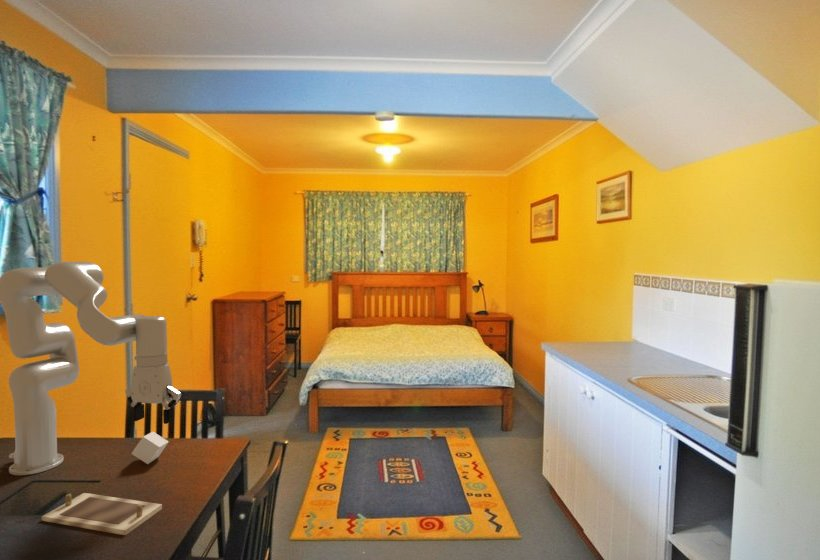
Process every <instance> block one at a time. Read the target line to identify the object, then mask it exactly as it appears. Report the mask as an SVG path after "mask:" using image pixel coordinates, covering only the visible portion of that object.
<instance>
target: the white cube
mask: <svg viewBox="0 0 820 560" xmlns="http://www.w3.org/2000/svg"><path fill="white" fill-rule="evenodd" d="M168 443H169V440H167V439H166V438H164V437H163V436H161V435H159V434H157V433H156V432H154V431H151V432H149V433H147V434H145V435H143V436H142V437H141V439H140V441H139V442H138V443H137V445H136V446H135V447H134V449H133V450H132V452H131V455H132V456H134V457H136V458H138V459H139V460H140V461H142V462H144V464H147V465H149V464H150V463H152V462H153V461H155V460H156V459H158V458H159V456H160V455H161V454H162V452H163V451H164V449H165V448H166V446H168Z"/></svg>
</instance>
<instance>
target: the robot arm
mask: <svg viewBox="0 0 820 560" xmlns="http://www.w3.org/2000/svg"><path fill="white" fill-rule="evenodd" d="M104 277H105V276H104V272H103V270H102V268H101V267H100V266H99V265H98V264H96V263H93V262H91V261H60V262H59V261H58V262H55V263H54V264H51V265H50V266H49V267H46V266H45V267H43V266H42V267H34V266H33V267H19V268H13V269H9V270H8V271H5V272H4V273H3V274H2V275H1V276H0V305H1V308H2V310H3V312H4V316H5V321H6V323H5V324H6V329H7V335H8V340H9V346H10V350H11V353H12V354H13V356H14V357H16V358H17V359H22V360H25V359H32V358H39V357H43V356H48V355H49V358H47V359H43V360H38V361H33V362H29V363H25V364H22V365H19V366H17V367H16V368H14V369H13V370H12V372H11V373H10V374H9V377H8V386H9V389H10V393H11V396H12V401H13V412H14V413H13V414H14V415H13V416H14V417H13V418H14V436H15V437H14V443H15V444H14V445H15V450H14V451H13V452H12V453H10V454H9V455H8V458H9V459H13V461H14V463H12V464H11V465H10V466H9V468H8V473H9V474H11V475H12V476H27V475H29V476H30V475H35V474H39V473H42V472H45V471H49V470H52V469H54V468H56V467H57V466H60V464H62V463H63V461H64V458H65V456H64V455H63V454H62V453H58V435H57V434H58V433H57V431H58V429H57V406H56V402H55V401H54V399H53V398H52V397H51V396H50V395H49V393H48V392H49V391H52V390H55V389H59V388H63V387H66V386H69V385H71V384H73V383H74V382H76V381H77V379H78V378H79V376H80V362H79V356H78V349H77V344H76V337H75V335H74V332H73V330H72V329H71V328H70V326H69V325H67V324H64V323H63V322H62V323H61V322H51V323H46V321H45V319H44V318H45V317H44V312H43V309H42V307H41V305H40V304H39V303H38V302H37V301H36V300H34V299H33V298H32V297H38V296H39V297H40V296H41V297H42V296H53V295H54V296H55V295H61V297H63V298H65V299H66V300H67V301H68V302H69V303H70V304H72V305H73V306H74V307H75V308H77V311H76V319H77V322H78V325H79V327H80V329H82V331H83V332H84V333H85V334H87V335H88V336H89V337H91V339H93V340H94V341H95V342H97V343H98V344H101V345H103V346H107V347H110V346H116V345H121V344H125V343H131V342H135V357H134V360H135V362H136V365H135V366H133V371H132V376H131V387H129V388H127V389H126V390H124V392H125V395H126V397H127V401H129V403H130V406H131V407H132V410H133V411H132V413H133V417H132V418H133V422H139V420H142V419H144V418H145V404H161V405H162V406H163V408H164V409H163V410H162V415H163V417H162V419H163V424H164V425H167V424H170V423H171V422H173V421H174V420H175V418H174V417H175V416H174V415H175V411H174V410H175V407H176V406H177V404H178V403H179V402H180V399H181V396H182V393H181V392H180V391H179V390H178V389H176V388H174V387H173V385H174V384H173V379H172V372H171V367H170V364H169V362H168V330H167V320H166V318H165V317H164V316H160V315H158V316H157V315H153V316H147V315H144V314H140V313H139V314H137V313H136V314H128V315H120V316H119V315H118V316H112V317H109V316H107V315H105V314H104V313H103V312H101V310H99V309H100V307H102V305H104V303H105V302H106V301H107V299H108V291H107V289H106V288H105V287H104V286H103V285H102V283H103V282H104Z"/></svg>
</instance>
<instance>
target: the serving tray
mask: <svg viewBox="0 0 820 560" xmlns="http://www.w3.org/2000/svg"><path fill="white" fill-rule="evenodd" d="M64 498H65V503H64V504H62V505H59V506H58V507H56V508H54V509H52V510H50V511H48V512H47V513H45V514H44V515H41V521H42V522H48V523H53V524H54V523H55V524H60V525H65V526H70V527H71V526H72V527H77V528H82V529H88V530H93V531H94V530H95V531H99V532H106V533H109V534H115V535H122V536H127V535H129V534H130V533H131V532H132V531H134V530H135V529H137V528H138V527H139V526H140V525H142V524H143V523H145V522H146V521H147V520H149V519H151V517H153V516H155V515H156V514H157V513H158V512H160V511H162V509H163V504H162V503H155V502H148V501H141V500H135V499H128V498H122V497H114V496H108V495H102V494H94V493H88V492H83V493H81V494H79V495H77V496H75V497H74V498H72V493H68V494H65V497H64Z"/></svg>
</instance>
